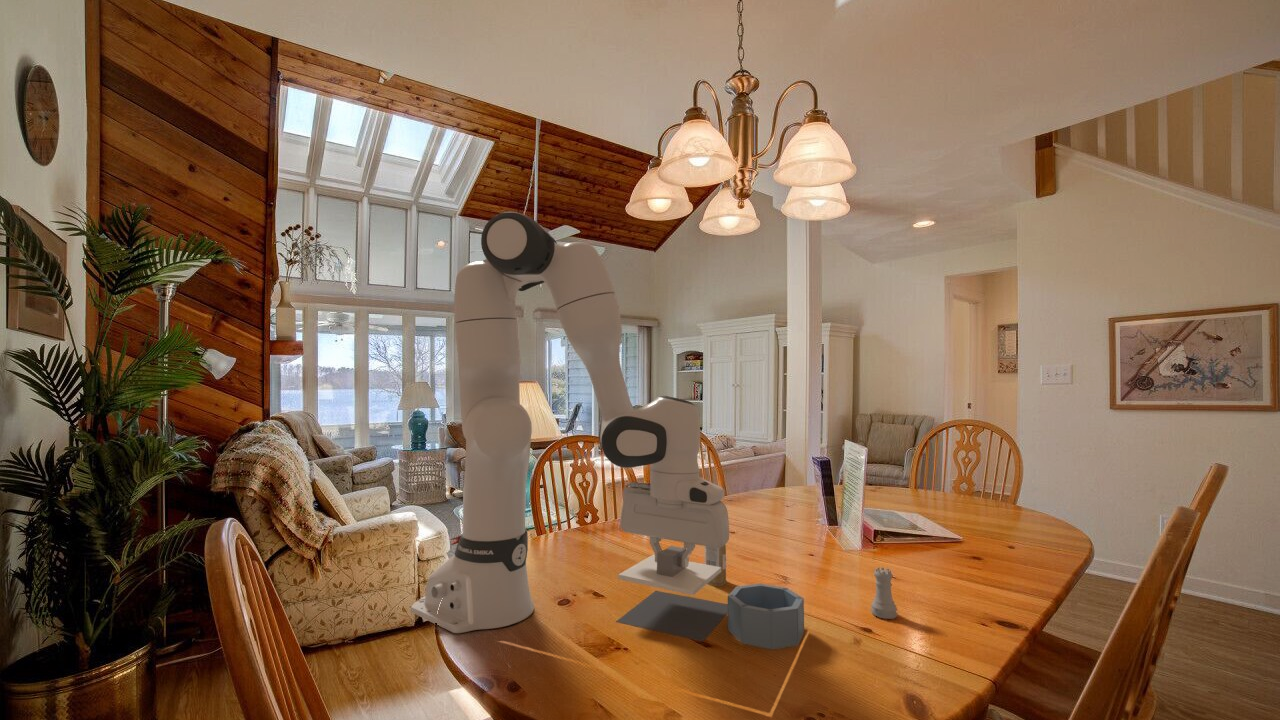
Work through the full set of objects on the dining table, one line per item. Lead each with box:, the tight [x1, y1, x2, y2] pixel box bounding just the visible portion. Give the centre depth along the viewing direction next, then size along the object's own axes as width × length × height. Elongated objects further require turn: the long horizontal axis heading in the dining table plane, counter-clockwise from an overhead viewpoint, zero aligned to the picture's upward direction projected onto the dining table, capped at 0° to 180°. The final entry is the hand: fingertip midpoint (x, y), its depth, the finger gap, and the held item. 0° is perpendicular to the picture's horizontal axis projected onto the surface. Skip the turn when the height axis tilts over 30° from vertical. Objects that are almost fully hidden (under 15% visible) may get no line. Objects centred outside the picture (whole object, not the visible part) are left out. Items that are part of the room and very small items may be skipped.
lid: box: [617, 545, 721, 596], centre depth 98 cm, size 14×14×4 cm
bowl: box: [727, 583, 805, 651], centre depth 91 cm, size 12×12×6 cm
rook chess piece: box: [870, 566, 898, 620], centre depth 98 cm, size 4×4×8 cm
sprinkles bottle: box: [704, 544, 727, 587], centre depth 114 cm, size 5×5×14 cm
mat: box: [615, 590, 728, 642], centre depth 98 cm, size 16×16×1 cm
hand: (671, 564), depth 98 cm, fingers closed on lid, 3 cm apart
